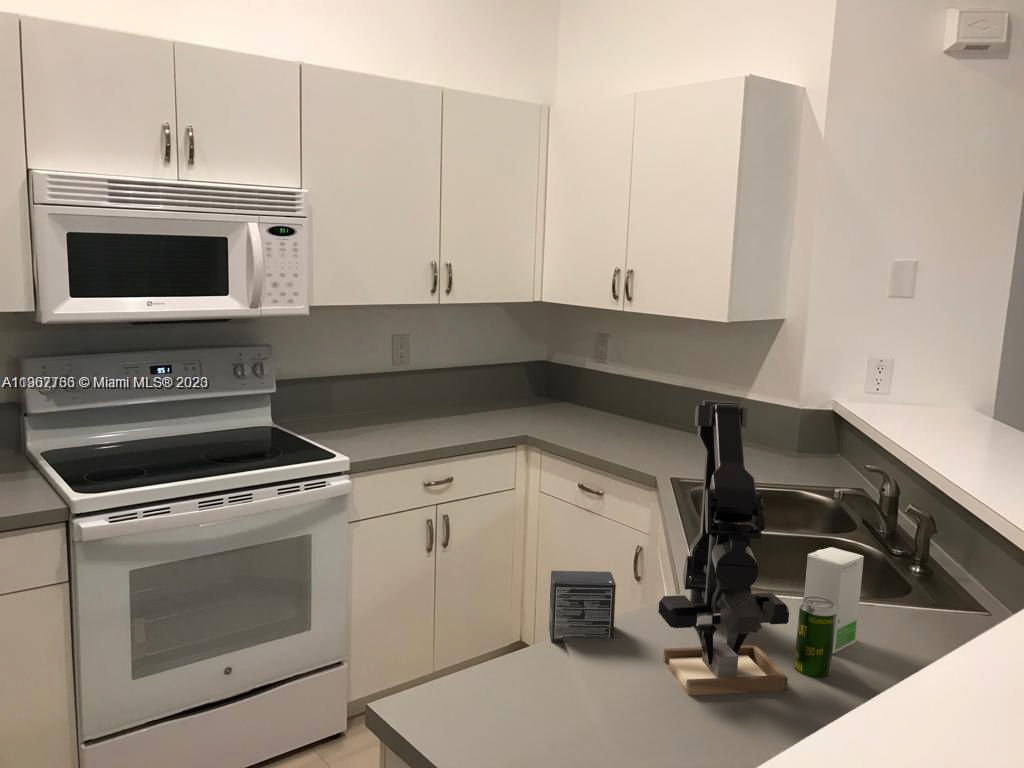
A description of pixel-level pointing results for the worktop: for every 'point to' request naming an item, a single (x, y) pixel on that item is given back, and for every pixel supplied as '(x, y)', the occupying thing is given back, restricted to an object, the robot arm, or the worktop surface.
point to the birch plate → (703, 671)
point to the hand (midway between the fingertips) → (719, 662)
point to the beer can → (815, 637)
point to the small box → (581, 605)
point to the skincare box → (837, 589)
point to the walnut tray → (732, 684)
